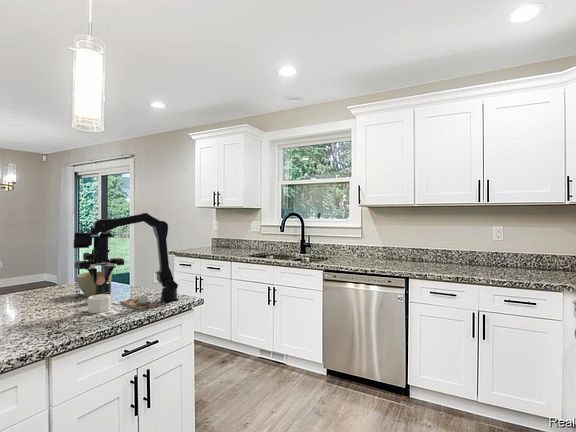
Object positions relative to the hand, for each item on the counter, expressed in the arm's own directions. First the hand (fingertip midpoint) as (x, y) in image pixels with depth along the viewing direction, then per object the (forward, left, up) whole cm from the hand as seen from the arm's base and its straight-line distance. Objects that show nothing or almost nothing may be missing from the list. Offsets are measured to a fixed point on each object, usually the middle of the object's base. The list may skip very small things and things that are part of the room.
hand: (100, 282), depth 145 cm
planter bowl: (-11, -31, -12) cm, 35 cm away
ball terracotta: (0, 0, +1) cm, 1 cm away
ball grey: (-15, +10, -9) cm, 20 cm away
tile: (0, +9, -12) cm, 15 cm away
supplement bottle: (-8, -15, -12) cm, 21 cm away
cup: (0, 0, -12) cm, 12 cm away
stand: (-15, +5, -12) cm, 20 cm away
